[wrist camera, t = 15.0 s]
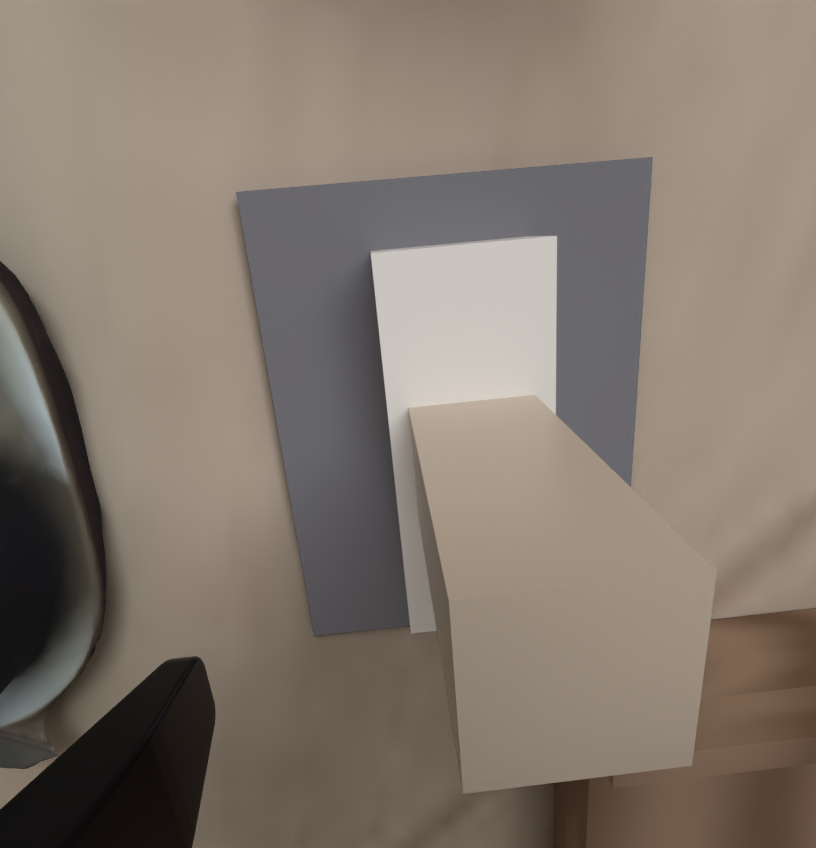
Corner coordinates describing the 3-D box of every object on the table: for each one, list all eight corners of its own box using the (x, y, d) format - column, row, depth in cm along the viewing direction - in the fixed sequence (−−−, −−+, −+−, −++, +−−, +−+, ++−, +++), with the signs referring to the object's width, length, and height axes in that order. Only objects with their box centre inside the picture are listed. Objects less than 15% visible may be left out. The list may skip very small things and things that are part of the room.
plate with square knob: (530, 236, 13) (814, 231, 5) (533, 574, 17) (702, 927, 8) (371, 251, 13) (366, 274, 5) (406, 588, 16) (441, 962, 8)
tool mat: (644, 159, 13) (652, 157, 13) (617, 594, 17) (623, 601, 17) (240, 193, 13) (235, 191, 12) (315, 627, 17) (314, 636, 17)
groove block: (926, 595, 18) (1094, 703, 14) (847, 862, 23) (954, 1002, 19) (557, 637, 18) (614, 761, 14) (553, 900, 23) (594, 1052, 18)
